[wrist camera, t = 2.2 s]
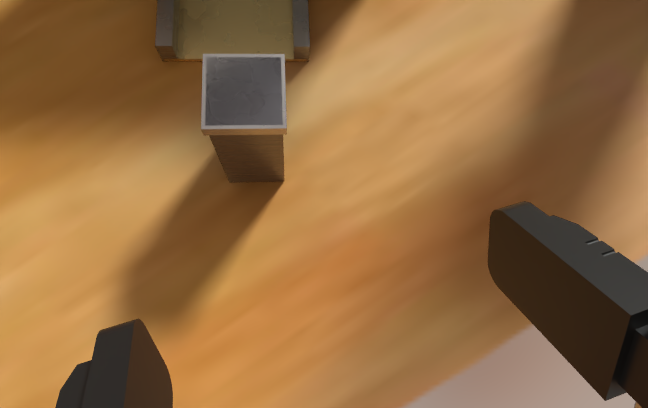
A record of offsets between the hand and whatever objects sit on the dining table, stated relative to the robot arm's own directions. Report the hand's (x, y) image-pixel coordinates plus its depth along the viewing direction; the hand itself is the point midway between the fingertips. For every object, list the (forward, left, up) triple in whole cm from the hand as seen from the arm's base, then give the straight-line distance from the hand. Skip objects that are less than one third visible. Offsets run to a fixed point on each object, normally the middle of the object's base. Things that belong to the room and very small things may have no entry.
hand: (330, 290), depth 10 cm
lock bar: (+3, -11, -22) cm, 24 cm away
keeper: (+4, -24, -22) cm, 32 cm away
